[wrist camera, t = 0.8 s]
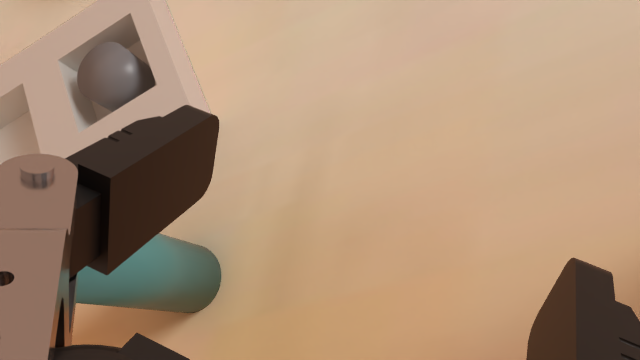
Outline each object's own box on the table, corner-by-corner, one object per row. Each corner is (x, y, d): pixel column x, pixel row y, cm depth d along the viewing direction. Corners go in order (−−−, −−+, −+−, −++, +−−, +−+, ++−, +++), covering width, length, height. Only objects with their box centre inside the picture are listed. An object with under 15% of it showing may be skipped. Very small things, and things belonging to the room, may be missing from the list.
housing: (164, -2, 41) (136, -29, 38) (214, 122, 37) (187, 103, 34) (-30, 123, 44) (-69, 107, 41) (-4, 251, 40) (-45, 244, 37)
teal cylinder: (207, 233, 35) (81, 189, 25) (230, 294, 33) (104, 273, 23) (154, 263, 35) (9, 232, 25) (173, 324, 34) (27, 316, 24)
